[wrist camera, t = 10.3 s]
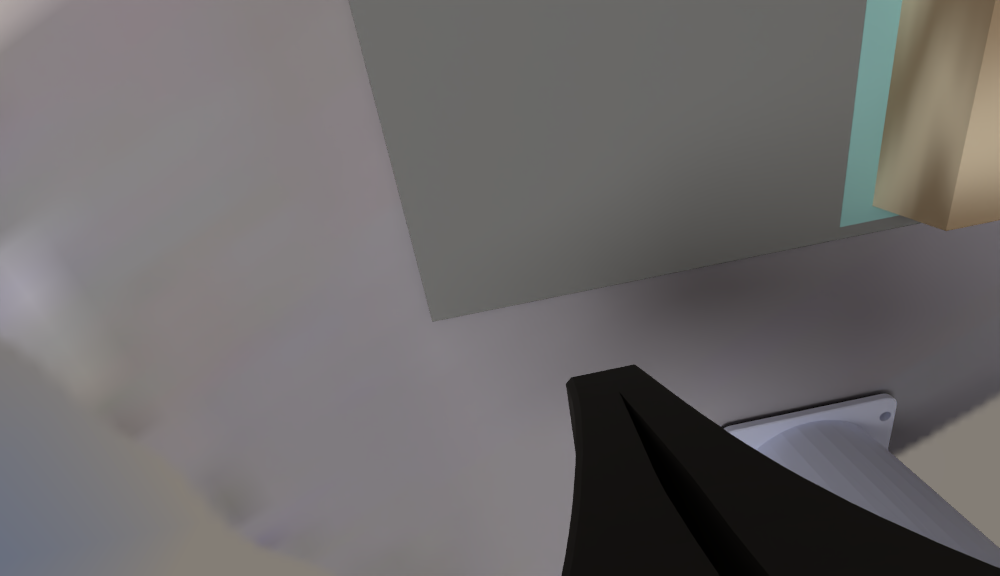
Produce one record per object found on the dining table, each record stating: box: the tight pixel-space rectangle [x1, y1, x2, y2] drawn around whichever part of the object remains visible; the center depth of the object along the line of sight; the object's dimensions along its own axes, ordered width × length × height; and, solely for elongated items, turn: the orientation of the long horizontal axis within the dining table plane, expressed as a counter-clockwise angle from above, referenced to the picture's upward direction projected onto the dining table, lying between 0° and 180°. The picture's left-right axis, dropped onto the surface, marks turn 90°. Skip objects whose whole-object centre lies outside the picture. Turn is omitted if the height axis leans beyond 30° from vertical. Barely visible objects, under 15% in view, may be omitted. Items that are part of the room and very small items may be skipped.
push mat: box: [349, 0, 921, 322], centre depth 16 cm, size 14×30×1 cm, turn 100°
